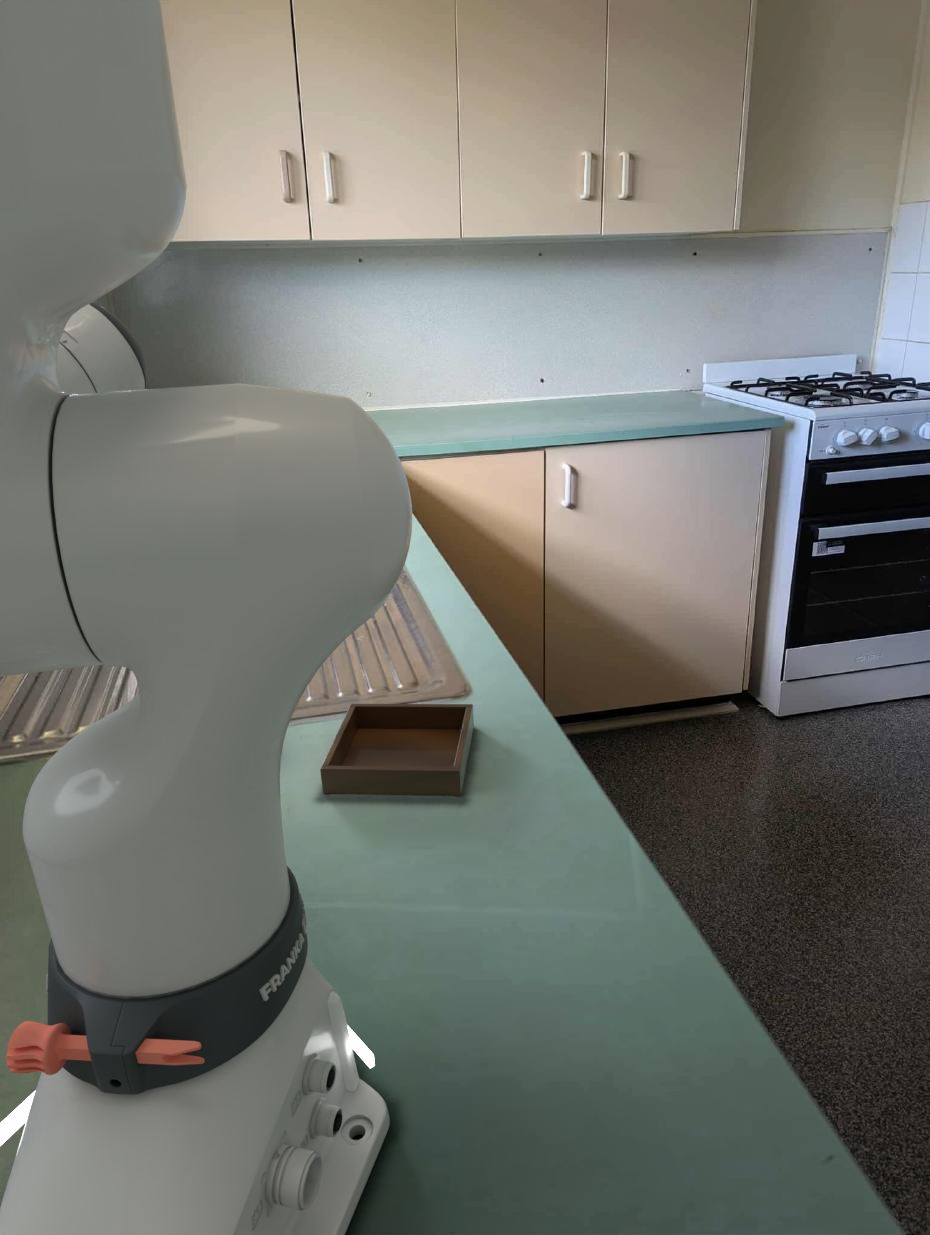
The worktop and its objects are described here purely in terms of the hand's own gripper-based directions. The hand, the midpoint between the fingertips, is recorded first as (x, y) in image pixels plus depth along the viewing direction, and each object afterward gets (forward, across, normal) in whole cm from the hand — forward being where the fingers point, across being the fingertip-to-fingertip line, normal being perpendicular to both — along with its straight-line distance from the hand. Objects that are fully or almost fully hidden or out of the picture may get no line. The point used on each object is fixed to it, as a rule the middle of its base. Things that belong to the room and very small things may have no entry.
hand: (250, 612), depth 76 cm
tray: (+20, +2, +2) cm, 20 cm away
